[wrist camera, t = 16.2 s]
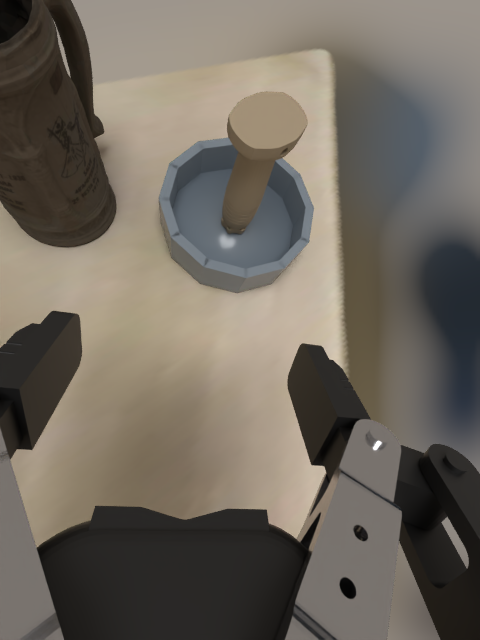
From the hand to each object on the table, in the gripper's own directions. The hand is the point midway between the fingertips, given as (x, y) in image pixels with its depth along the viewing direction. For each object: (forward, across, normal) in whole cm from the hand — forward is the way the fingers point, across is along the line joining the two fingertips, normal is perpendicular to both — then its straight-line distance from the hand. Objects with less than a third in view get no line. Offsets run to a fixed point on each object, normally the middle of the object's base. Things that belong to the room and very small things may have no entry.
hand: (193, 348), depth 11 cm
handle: (+29, -4, +2) cm, 29 cm away
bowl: (+30, -4, +3) cm, 30 cm away
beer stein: (+31, +15, +2) cm, 34 cm away
